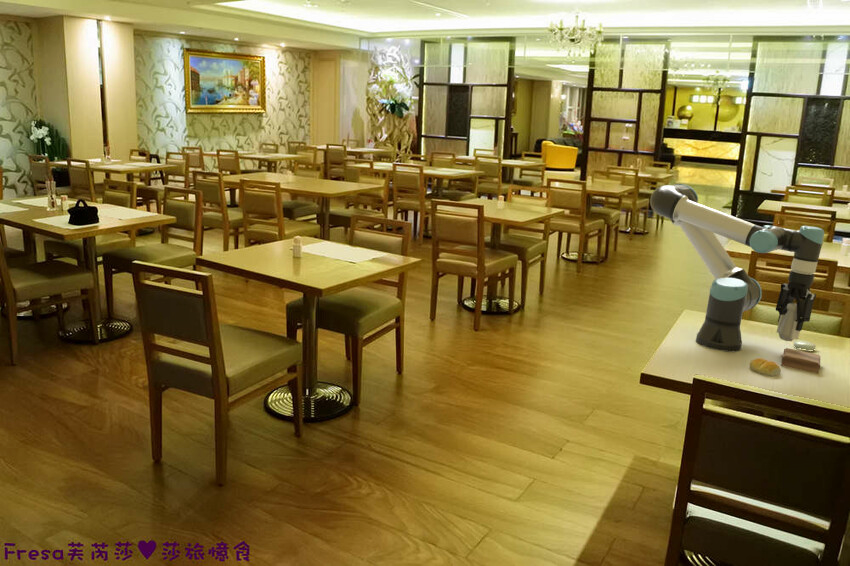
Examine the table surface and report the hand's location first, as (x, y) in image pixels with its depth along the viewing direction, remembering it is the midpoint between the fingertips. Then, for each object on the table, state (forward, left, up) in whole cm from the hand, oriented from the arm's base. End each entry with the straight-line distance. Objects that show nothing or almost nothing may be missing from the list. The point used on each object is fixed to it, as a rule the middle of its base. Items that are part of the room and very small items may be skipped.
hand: (787, 335), depth 246 cm
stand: (-5, -12, -6) cm, 15 cm away
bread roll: (-23, -17, -7) cm, 29 cm away
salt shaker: (0, 0, -2) cm, 2 cm away
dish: (+12, +4, -6) cm, 14 cm away
